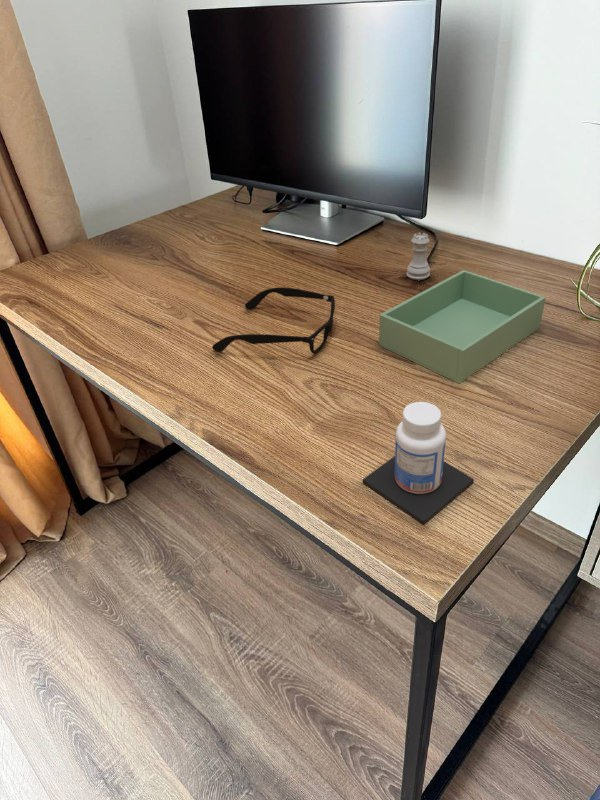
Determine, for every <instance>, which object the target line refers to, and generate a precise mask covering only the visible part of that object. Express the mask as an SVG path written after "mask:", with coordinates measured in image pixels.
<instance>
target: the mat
mask: <svg viewBox="0 0 600 800" xmlns="http://www.w3.org/2000/svg"><path fill="white" fill-rule="evenodd" d="M394 471H395V455H394V456H393V457H392V458H390V459H388V460H387V461H386V462H384V463H383V464H381V465H380V466H379V467H377V469H374V470H373V471H372V472H371V473H369V474H368V475H367V476H365V477H364V478H362V484H363V485H365V486H367V487H368V488H369V489H371V490H372V491H374V492H375V493H376V494H378V495H379V496H381V497H383V499H385V500H386V501H388V502H390V503H391V504H393V505H394V506H395V507H397V508H399V510H401V511H403V512H404V513H405V514H407V515H408V516H410V517H411V518H413V519H414V520H416V522H418V523H420V524H422V525H423V526H424V525H425V524H427V523H428V522H429V521H430V520H432V519H433V518H434V517H435V516H437V515H438V513H440V512H441V511H442V510H443V509H444V508H446V507H447V506H448V505H449V504H450V503H451V502H453V501H454V500H455V499H456V498H457V497H458V496H460V495H461V494H462V493H463V492H464V491H466V490H467V489H468V488H469V487H471V486H472V485H473V484H474V481H475V478H472V477H471V476H469V475H468V474H467V473H464V472H463V471H461V470H459V469H458V468H456V467H454V466H453V465H451V464H449V463H447V462H445V461H444V464H443V474H442V480H441V483H440V485H439V486H438V488H437V489H435V490H434V491H432V492H429V493H425V494H415V493H410V492H408V491H406V490H404V489H402V488H401V487H400V486H399V485H398V483H397V482H396V480H395V474H394Z"/></svg>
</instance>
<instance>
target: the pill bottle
mask: <svg viewBox="0 0 600 800" xmlns="http://www.w3.org/2000/svg"><path fill="white" fill-rule="evenodd" d="M394 442H395V445H394V446H395V448H394V452H395V453H394V456H395V471H394V474H395V480H396V482H397V483H398V485H399V486H400V487H401V488H402V489H404V490H406V491H408V492H410V493H415V494H425V493H429V492H432V491H434V490H435V489H437V488H438V486H439V485H440V483H441V480H442V474H443V464H444V462H445V453H446V444H447V431H446V428H445V427H444V426H443V424H442V411H441V410H440V408H439V407H438V406H436V405H435V404H433V403H430V402H426V401H415V402H411V403H409V404H407V405H406V406H405V407H404V408H403V410H402V419H401V422H400V423H399V424H398V425H397V427H396V430H395V441H394Z"/></svg>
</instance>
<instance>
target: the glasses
mask: <svg viewBox="0 0 600 800" xmlns="http://www.w3.org/2000/svg"><path fill="white" fill-rule="evenodd" d="M272 293H275V294H278V295H280V296H283V297H287V298H289V297H292V298H304V299H315V300H325V301H326V302H329V303H330V314H329V318H328V319H327V321H326V322H325V323H323V325H321V326H320V327H319V328H318V329H317V330H315V331H314V332H313V333H312V334H311V335H310V336H297V335H281V334H280V335H279V334H267V333H266V334H265V333H264V334H263V333H260V334H258V333H257V334H256V333H254V334H253V333H252V334H251V333H249V334H248V333H247V334H235V335H229V336H225V337H223V338H222V339H220V340H219V341H217V342H215V343H214V344H213V345H212V346H211V348H212V350H213V351H215V352H217V353H222V352H223V351H225V349H227V348H228V347H229V345H230V344H231V343H233V342H234V341H237V340H238V341H242V342H246V343H248V344H251V345H260V344H261V345H262V344H278V343H279V344H280V343H284V344H285V343H298V342H302V343H306V344H308V347H309V350H310V353H311V354H313V355H315V354H317V353H319V352H320V351H321V350H322V349H324V346H325V344H326V343H327V340H328V338H329V335H330V333H332V330H333V323H334V314H335V308H336V300H335V299H336V298H335V296H334V295H329V294H322V293H319V292H315V291H310V290H305V289H300V288H295V287H294V288H293V287H272V288H271V287H270V288H268V289H265V290H262V291H260V292H259V293H256V295H255V296H253V297H252V298H251V299H249V300H248V301H247V302H246V303H245V305H244V308H245V309H246V310H253V309H256V307H258V305H260V303H261V302H262V301H264V299H265V298H266V297H267V296H268V295H270V294H272ZM322 331H323V335H322V336H323V338H322V342H321V343H320V345H319V346H318V347H317V348H316V349H315V339H316V337H317V336H318V335H319V334H321V332H322Z"/></svg>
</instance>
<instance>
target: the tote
mask: <svg viewBox="0 0 600 800" xmlns="http://www.w3.org/2000/svg"><path fill="white" fill-rule="evenodd" d="M546 299H547V296H544V295H541V294H538V293H534V292H532V291H529V290H526V289H523V288H520V287H517V286H514V285H511V284H507V283H505V282H501V281H498V280H496V279H494V278H493V279H492V278H490V277H487V276H484V275H480V274H477V273H475V272H471V271H468V270H465V269H463V270H461V271H459V272H457V273H455V274H453V275H451V276H449V277H448V278H446V279H444V280H441V281H440V282H438V283H436V284H435V285H433V286H431V287H428V288H427V289H425V290H423V291H421V292H420V293H418V294H416V295H414V296H412V297H410V298H408V299H407V300H405V301H403V302H401V303H399V304H396V305H394V306H393V307H391V308H389V309H387V310H385V311H384V312H382V313H380V314H379V326H378V327H379V328H378V330H379V331H378V332H379V334H378V346H379V347H381V348H384V349H386V350H388V351H390V352H392V353H394V354H396V355H398V356H400V357H402V358H405V359H406V360H409V361H411V362H413V363H415V364H417V365H419V366H421V367H424V368H425V369H428V370H430V371H431V372H434V373H436V374H438V375H440V376H442V377H444V378H447V379H448V380H451V381H452V382H455V383H457V384H460V383H462V382H463V381H465V380H466V379H468V378H469V377H471V376H472V375H474V374H475V373H476V372H478V371H480V370H481V369H482V368H484V367H486V366H487V365H488V364H489V363H491V362H492V361H494V360H495V359H497V358H498V357H500V356H501V355H503V354H504V353H505V352H507V351H508V350H510V349H512V348H513V347H514V346H515V345H517V344H519V343H520V342H521V341H523V340H525V339H526V338H527V337H528V336H530V335H532V334H533V333H534V332H536V331H537V330H539V329H540V327H541V323H542V317H543V313H544V309H545V304H546Z"/></svg>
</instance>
